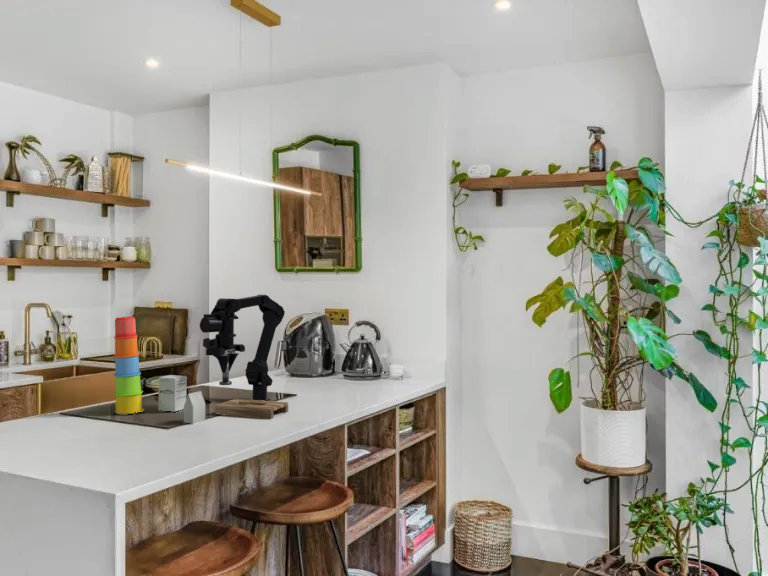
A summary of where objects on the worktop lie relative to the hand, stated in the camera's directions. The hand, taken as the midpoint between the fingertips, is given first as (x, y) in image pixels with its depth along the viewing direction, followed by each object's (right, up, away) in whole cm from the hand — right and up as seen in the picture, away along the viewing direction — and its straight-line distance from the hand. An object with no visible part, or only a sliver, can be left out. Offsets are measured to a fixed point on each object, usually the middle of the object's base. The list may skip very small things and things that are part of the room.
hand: (225, 372), depth 260 cm
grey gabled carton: (-4, -14, -28) cm, 32 cm away
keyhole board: (+13, -13, -13) cm, 22 cm away
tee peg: (0, -5, 0) cm, 5 cm away
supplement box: (-18, -13, -8) cm, 24 cm away
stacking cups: (-32, -13, -13) cm, 37 cm away
